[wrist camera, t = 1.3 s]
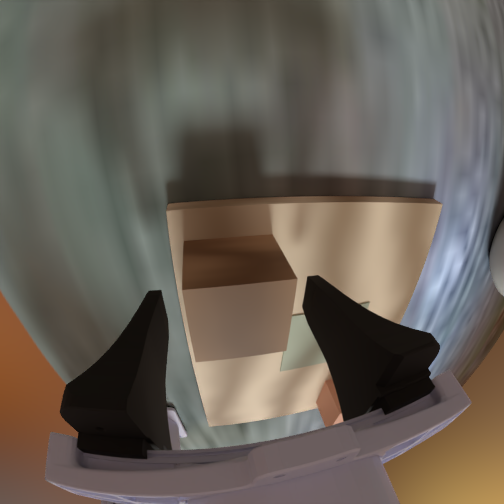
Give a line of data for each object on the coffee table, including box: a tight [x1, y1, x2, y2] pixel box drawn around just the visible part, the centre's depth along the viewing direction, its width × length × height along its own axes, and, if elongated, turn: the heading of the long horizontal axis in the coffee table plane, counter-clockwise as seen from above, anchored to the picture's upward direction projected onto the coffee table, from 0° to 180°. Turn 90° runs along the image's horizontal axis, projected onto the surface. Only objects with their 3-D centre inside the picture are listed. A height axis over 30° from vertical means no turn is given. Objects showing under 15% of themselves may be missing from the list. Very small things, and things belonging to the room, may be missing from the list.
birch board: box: [166, 196, 442, 427], centre depth 21 cm, size 18×24×1 cm
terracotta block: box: [316, 379, 343, 427], centre depth 24 cm, size 5×5×4 cm
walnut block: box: [182, 234, 298, 362], centre depth 13 cm, size 5×5×4 cm
